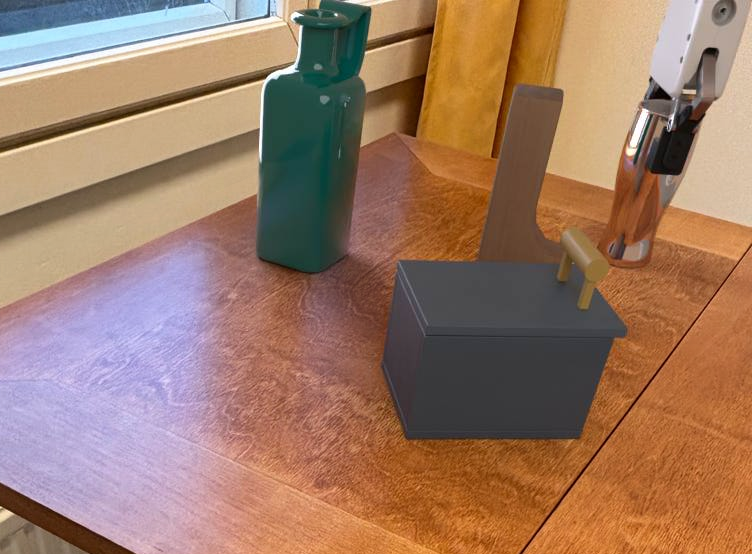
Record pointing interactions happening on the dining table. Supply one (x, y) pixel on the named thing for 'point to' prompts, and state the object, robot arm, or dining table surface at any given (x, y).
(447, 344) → the chest
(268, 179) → the green bottle
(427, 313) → the lid
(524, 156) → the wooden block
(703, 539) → the dining table surface
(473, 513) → the dining table surface
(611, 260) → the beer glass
